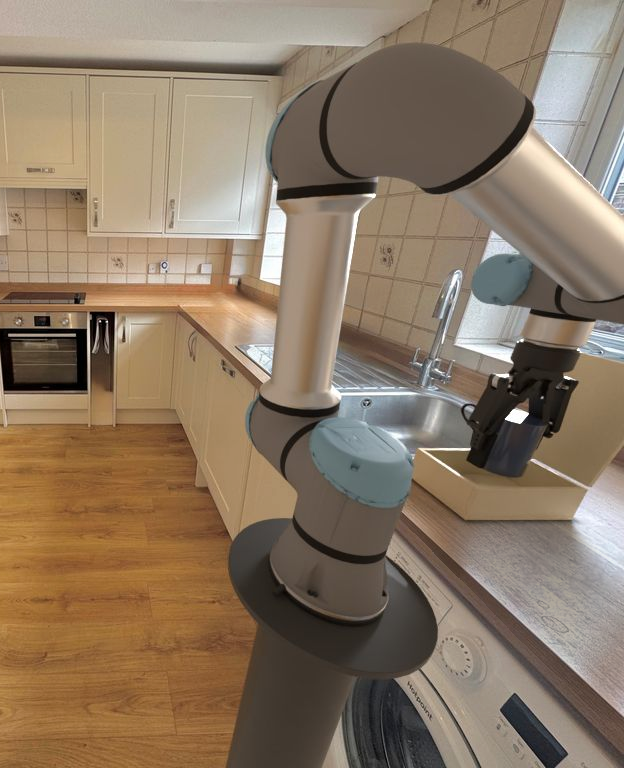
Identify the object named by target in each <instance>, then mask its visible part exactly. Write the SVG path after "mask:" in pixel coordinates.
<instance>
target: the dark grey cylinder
mask: <svg viewBox="0 0 624 768" xmlns="http://www.w3.org/2000/svg"><path fill="white" fill-rule="evenodd" d="M525 412H526V411H525ZM525 412H521V411H517V410H513V411H512V412H511V413H510V414H509V416H508V417H507V418H506V419H504V421H503V422H502V424H501V425H500V426H499V427H498V428H497V429H496V430H495V432H494V433H493V434H494V435H496V436H497V437H496V439H495V442H494V444H493V446H492V449H491V451H490V453H489V455H488V458H487V460H486V462H485V465H484V467H483V468H481V469H483V470H486V471H488V472H491V473H494V474H497V475H501V476H505V477H512V478H519V477H522V476H523V475H524V473H525V471H526V469H527V467H528V465H529V463H530V461H531V460H533V458H532V456H533V454H534V452H535V450H536V448H537V446H538V444H539V442H540V440H541V438H542V436H543V433H544V431H545V429H546V427H547V425H548V424H547V422H546V421H544V420H542V419H539V418H537V417H535V416H532V415H530V414H528V412H527V413H525ZM488 426H489V425H487V427H488Z"/></svg>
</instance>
